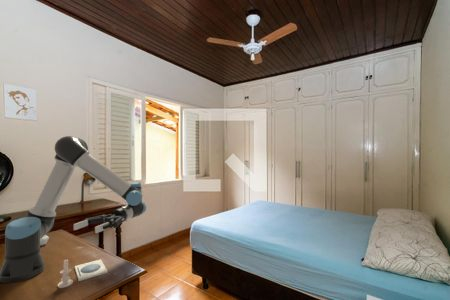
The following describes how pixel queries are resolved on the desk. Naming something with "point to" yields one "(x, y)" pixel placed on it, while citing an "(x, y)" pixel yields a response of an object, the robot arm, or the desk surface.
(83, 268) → the cream rectangular board
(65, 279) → the white stepped tower
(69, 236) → the desk surface
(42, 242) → the figurine
